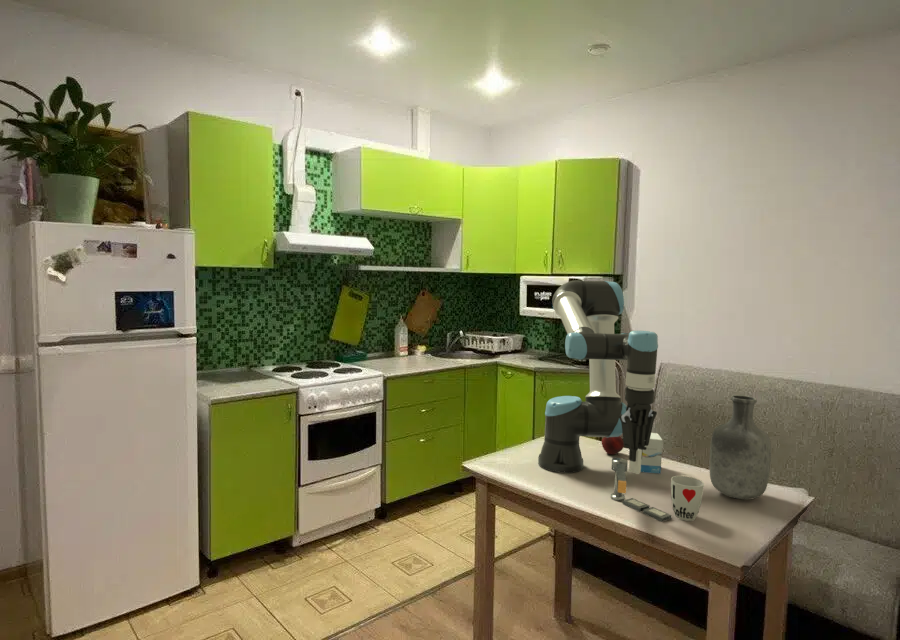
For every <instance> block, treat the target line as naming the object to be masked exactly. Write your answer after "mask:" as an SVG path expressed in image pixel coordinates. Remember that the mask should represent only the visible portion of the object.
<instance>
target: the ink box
mask: <svg viewBox="0 0 900 640" xmlns="http://www.w3.org/2000/svg"><path fill="white" fill-rule="evenodd" d="M663 441H664V440H663V438H662V437H661V436H660V434H659V433H657V432H651V436H650V440H649V445H648V446H644V447H646V448H647V449H646V450H643V452H642V460H641V473H647V474H649V473H651V474H661V472H662V456H663V443H664V442H663Z"/></svg>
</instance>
